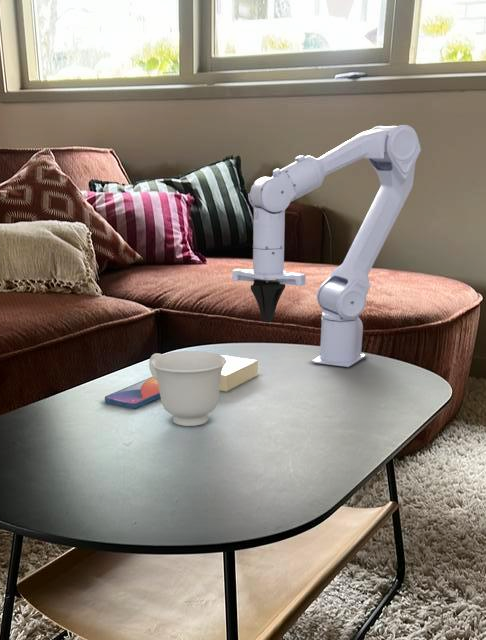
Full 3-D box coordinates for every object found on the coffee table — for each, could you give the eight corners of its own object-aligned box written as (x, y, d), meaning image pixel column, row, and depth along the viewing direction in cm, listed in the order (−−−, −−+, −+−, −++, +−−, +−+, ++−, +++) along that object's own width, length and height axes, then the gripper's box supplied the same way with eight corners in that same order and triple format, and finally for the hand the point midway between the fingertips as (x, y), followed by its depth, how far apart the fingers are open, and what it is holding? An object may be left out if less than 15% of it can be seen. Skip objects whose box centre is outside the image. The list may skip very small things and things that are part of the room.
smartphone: (102, 403, 134) (101, 397, 133) (155, 380, 145) (154, 375, 144) (134, 410, 130) (134, 404, 129) (186, 386, 141) (186, 381, 140)
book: (216, 369, 152) (216, 353, 151) (257, 375, 147) (258, 359, 146) (182, 384, 143) (182, 368, 141) (226, 392, 138) (226, 375, 137)
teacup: (179, 400, 134) (177, 344, 129) (242, 419, 124) (242, 358, 120) (126, 417, 126) (122, 358, 122) (190, 438, 117) (187, 374, 112)
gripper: (224, 248, 142) (224, 321, 148) (294, 252, 135) (292, 329, 141) (242, 243, 147) (242, 314, 153) (311, 247, 140) (308, 321, 146)
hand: (267, 321), depth 147 cm, fingers closed
